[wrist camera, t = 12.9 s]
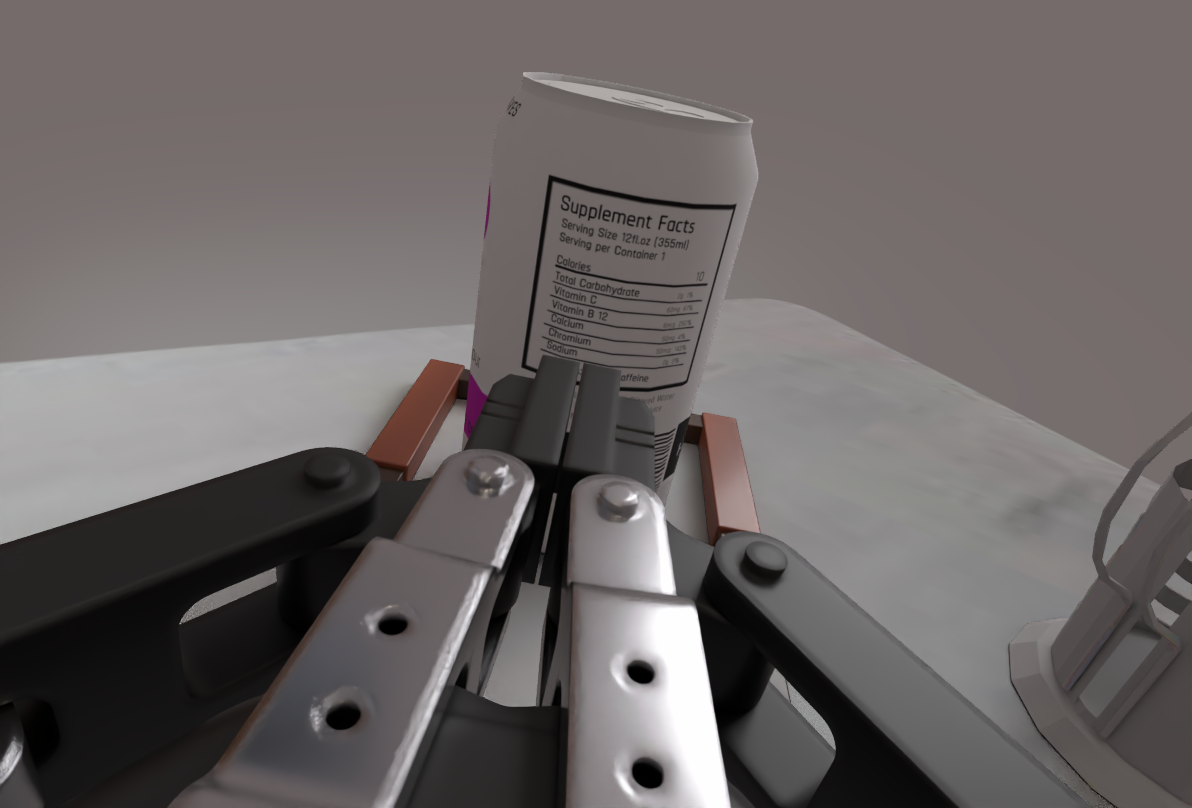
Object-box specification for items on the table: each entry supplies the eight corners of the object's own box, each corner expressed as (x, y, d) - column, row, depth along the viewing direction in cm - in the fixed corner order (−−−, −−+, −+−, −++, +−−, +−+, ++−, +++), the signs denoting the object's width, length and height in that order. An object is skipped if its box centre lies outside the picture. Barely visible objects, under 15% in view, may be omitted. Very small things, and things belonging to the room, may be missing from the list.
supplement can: (411, 492, 26) (440, 59, 19) (545, 421, 33) (604, 76, 26) (582, 605, 23) (694, 127, 16) (695, 501, 29) (811, 127, 22)
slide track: (-146, 1267, 10) (-175, 1241, 9) (429, 379, 34) (430, 358, 34) (922, 1441, 10) (957, 1427, 9) (729, 438, 35) (736, 418, 34)
